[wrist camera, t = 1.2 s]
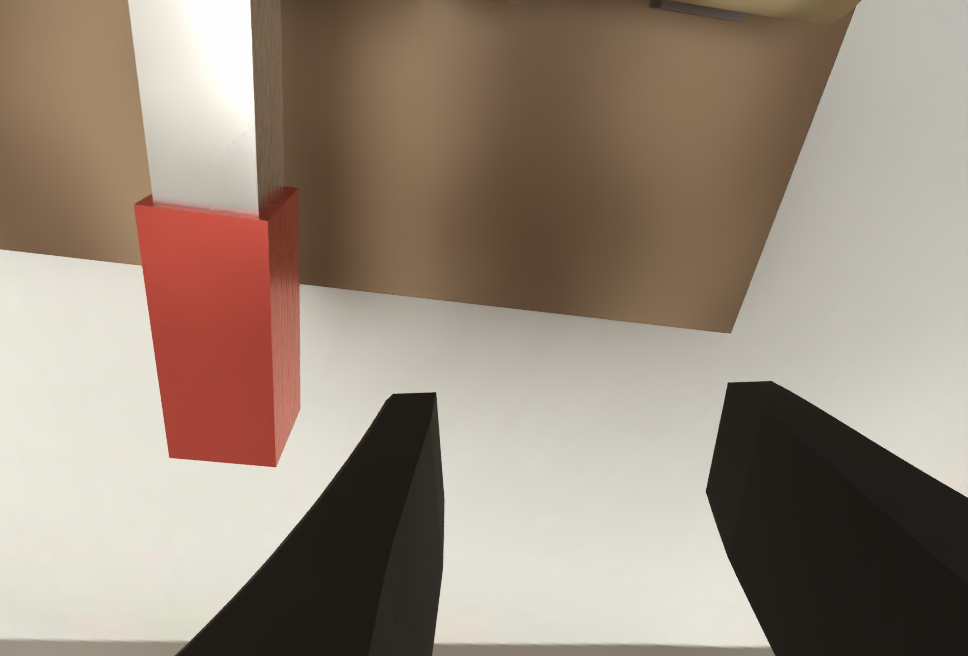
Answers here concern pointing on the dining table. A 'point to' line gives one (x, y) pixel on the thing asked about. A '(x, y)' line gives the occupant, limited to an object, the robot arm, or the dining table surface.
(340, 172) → the valve board
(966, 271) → the dining table surface
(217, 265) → the valve lever
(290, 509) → the dining table surface
